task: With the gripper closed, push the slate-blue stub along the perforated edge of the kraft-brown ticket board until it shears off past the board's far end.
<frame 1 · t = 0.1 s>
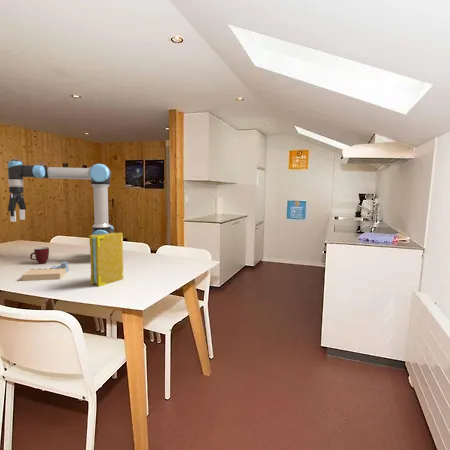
hand: (18, 220, 192), 28 cm above the table, fingers open, 13 cm apart
ticket board: (45, 276, 168), on the table
stub: (59, 267, 178), point 3 cm above the table, slide at 0.0 cm
mug: (40, 263, 198), on the table
book: (109, 281, 162), on the table
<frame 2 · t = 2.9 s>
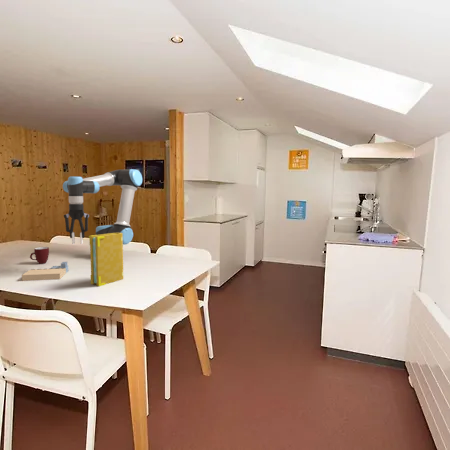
hand: (77, 243, 179), 17 cm above the table, fingers open, 4 cm apart
nothing on the table moved.
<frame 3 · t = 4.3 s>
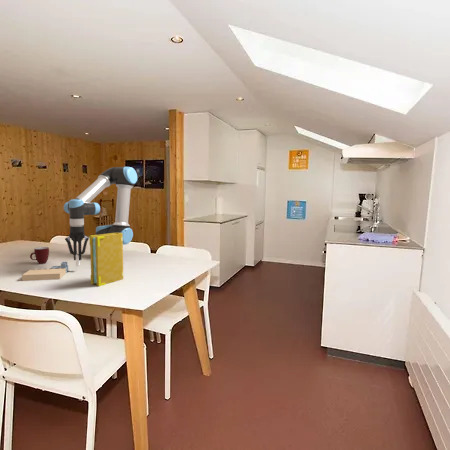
hand: (77, 265, 180), 3 cm above the table, fingers closed
nothing on the table moved.
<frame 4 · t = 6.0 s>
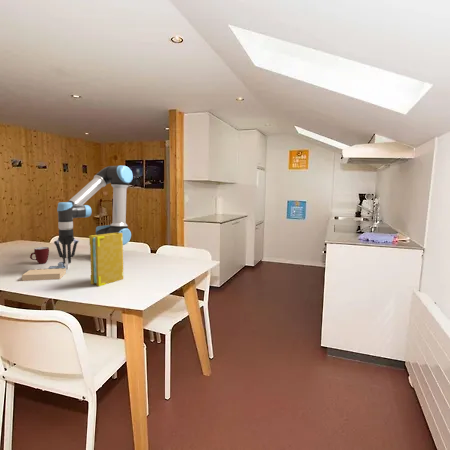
hand: (67, 268, 179), 2 cm above the table, fingers closed
stub: (56, 267, 178), point 3 cm above the table, slide at 1.6 cm, touching gripper
everything else where it was.
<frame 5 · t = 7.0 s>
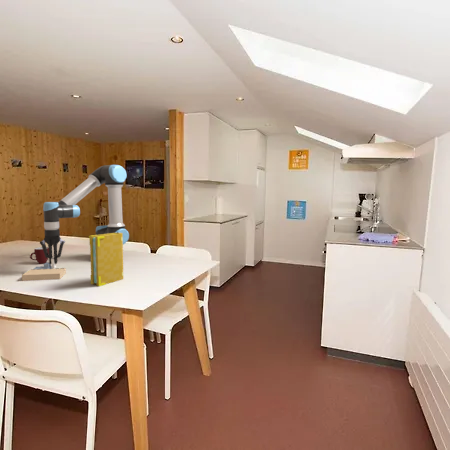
hand: (53, 269, 178), 2 cm above the table, fingers closed
stub: (42, 267, 176), point 3 cm above the table, slide at 8.9 cm, touching gripper
everything else where it was.
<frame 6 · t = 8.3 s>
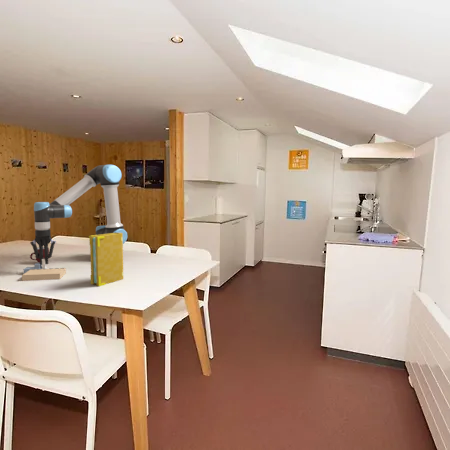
hand: (44, 269, 177), 2 cm above the table, fingers closed
stub: (33, 268, 175), point 3 cm above the table, slide at 13.6 cm, touching gripper
everything else where it was.
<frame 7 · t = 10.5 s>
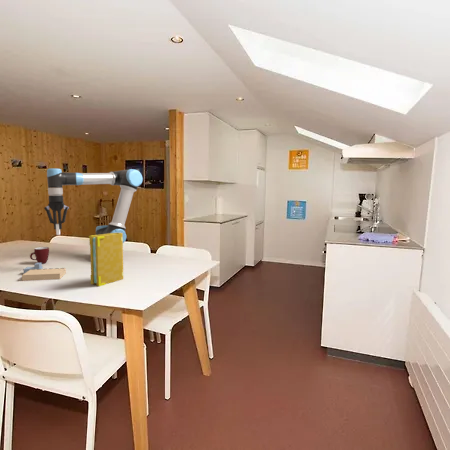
hand: (58, 234, 183), 21 cm above the table, fingers closed
stub: (33, 268, 175), point 3 cm above the table, slide at 13.6 cm
everything else where it was.
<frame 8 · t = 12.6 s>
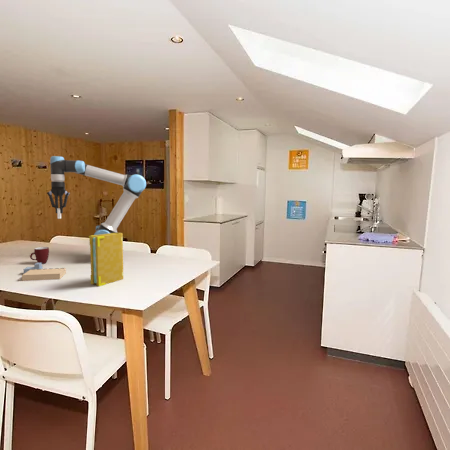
hand: (59, 218, 196), 29 cm above the table, fingers closed
nothing on the table moved.
at the end: stub slide at 13.6 cm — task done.
